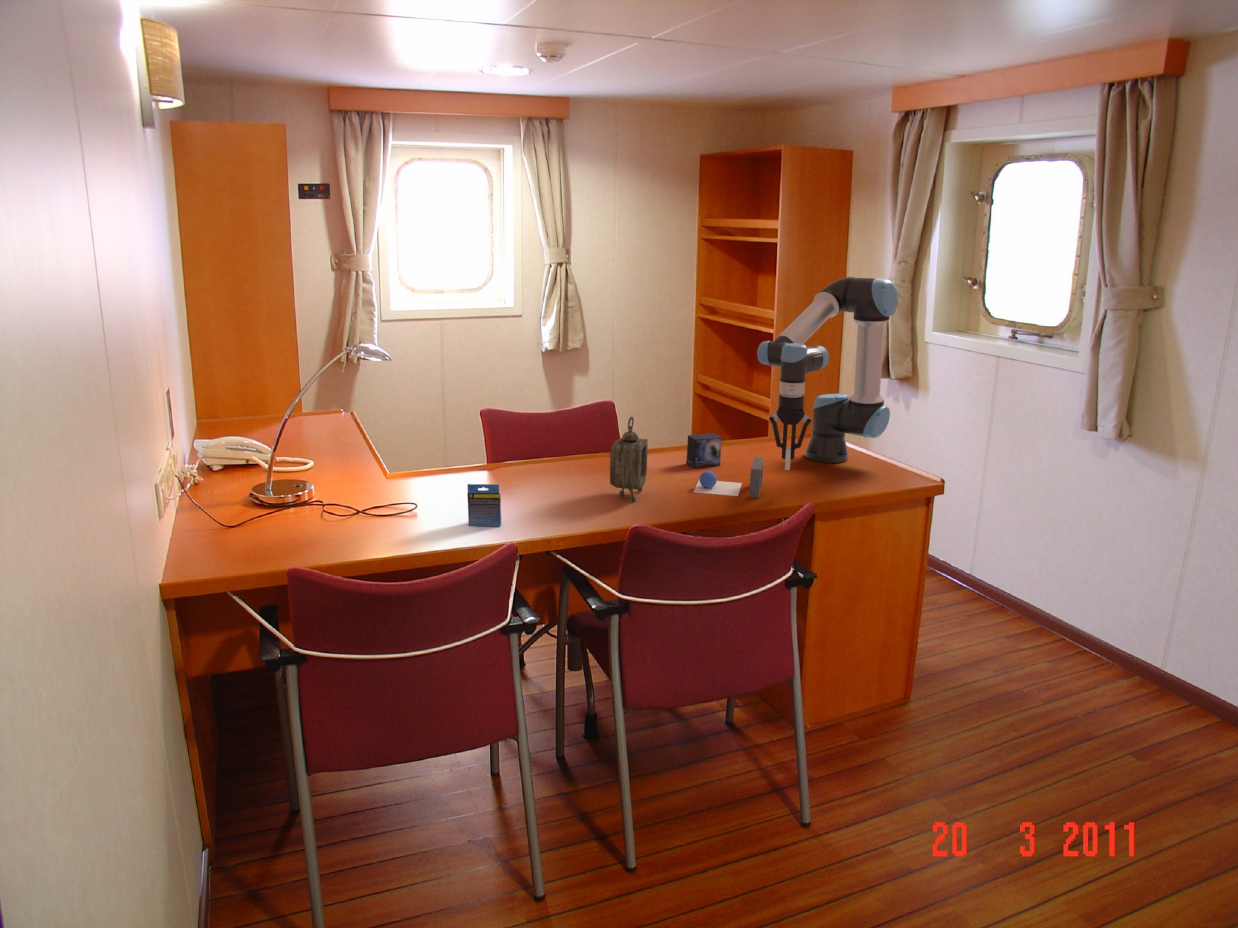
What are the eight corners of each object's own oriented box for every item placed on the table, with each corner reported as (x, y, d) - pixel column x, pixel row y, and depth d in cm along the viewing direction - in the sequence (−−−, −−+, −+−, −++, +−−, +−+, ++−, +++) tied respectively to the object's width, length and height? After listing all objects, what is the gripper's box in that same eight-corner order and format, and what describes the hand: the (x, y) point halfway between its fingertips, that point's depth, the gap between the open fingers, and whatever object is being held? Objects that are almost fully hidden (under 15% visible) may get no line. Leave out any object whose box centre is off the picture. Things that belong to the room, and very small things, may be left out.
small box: (693, 468, 306) (695, 439, 303) (685, 463, 312) (686, 434, 309) (721, 466, 310) (722, 436, 307) (712, 461, 316) (713, 432, 313)
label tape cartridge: (501, 522, 250) (501, 480, 247) (500, 527, 246) (499, 484, 243) (469, 522, 250) (468, 480, 246) (468, 526, 246) (466, 484, 243)
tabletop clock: (638, 504, 267) (640, 423, 261) (608, 502, 269) (609, 421, 262) (646, 490, 281) (648, 412, 274) (618, 488, 283) (619, 411, 276)
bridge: (749, 497, 276) (750, 468, 273) (752, 484, 290) (754, 456, 287) (759, 498, 275) (760, 469, 273) (762, 484, 289) (763, 457, 286)
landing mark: (699, 480, 293) (699, 479, 293) (741, 483, 290) (741, 482, 290) (693, 492, 280) (693, 491, 280) (737, 496, 277) (738, 495, 277)
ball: (714, 467, 286) (719, 483, 287) (697, 472, 287) (703, 487, 288) (713, 470, 281) (718, 487, 281) (696, 476, 282) (702, 492, 283)
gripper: (769, 396, 270) (765, 470, 277) (813, 398, 267) (808, 473, 274) (770, 391, 277) (767, 464, 284) (813, 393, 274) (808, 466, 281)
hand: (787, 468), depth 279 cm, fingers closed
